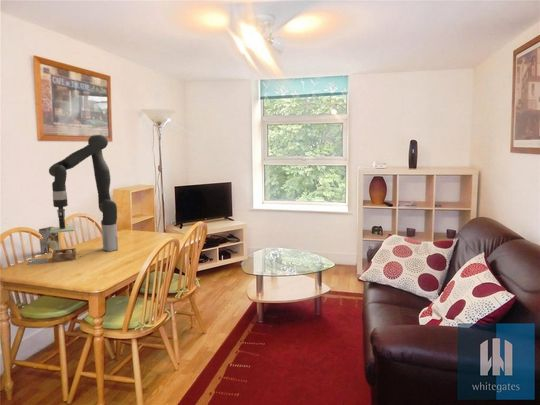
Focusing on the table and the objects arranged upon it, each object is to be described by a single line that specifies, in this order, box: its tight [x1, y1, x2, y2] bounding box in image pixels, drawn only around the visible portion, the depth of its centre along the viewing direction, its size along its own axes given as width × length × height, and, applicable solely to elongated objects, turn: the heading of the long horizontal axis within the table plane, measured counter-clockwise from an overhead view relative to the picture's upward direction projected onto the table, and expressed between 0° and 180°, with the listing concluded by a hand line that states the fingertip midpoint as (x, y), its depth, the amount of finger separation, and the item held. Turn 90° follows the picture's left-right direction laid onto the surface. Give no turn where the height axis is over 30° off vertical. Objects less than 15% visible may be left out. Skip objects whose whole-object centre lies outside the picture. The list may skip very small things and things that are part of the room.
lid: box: [50, 218, 76, 234], centre depth 240 cm, size 13×13×7 cm
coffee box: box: [38, 226, 61, 254], centre depth 260 cm, size 9×6×16 cm
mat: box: [26, 257, 49, 266], centre depth 237 cm, size 10×12×1 cm
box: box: [51, 247, 77, 263], centre depth 243 cm, size 12×12×5 cm
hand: (62, 226), depth 241 cm, fingers closed on lid, 3 cm apart
